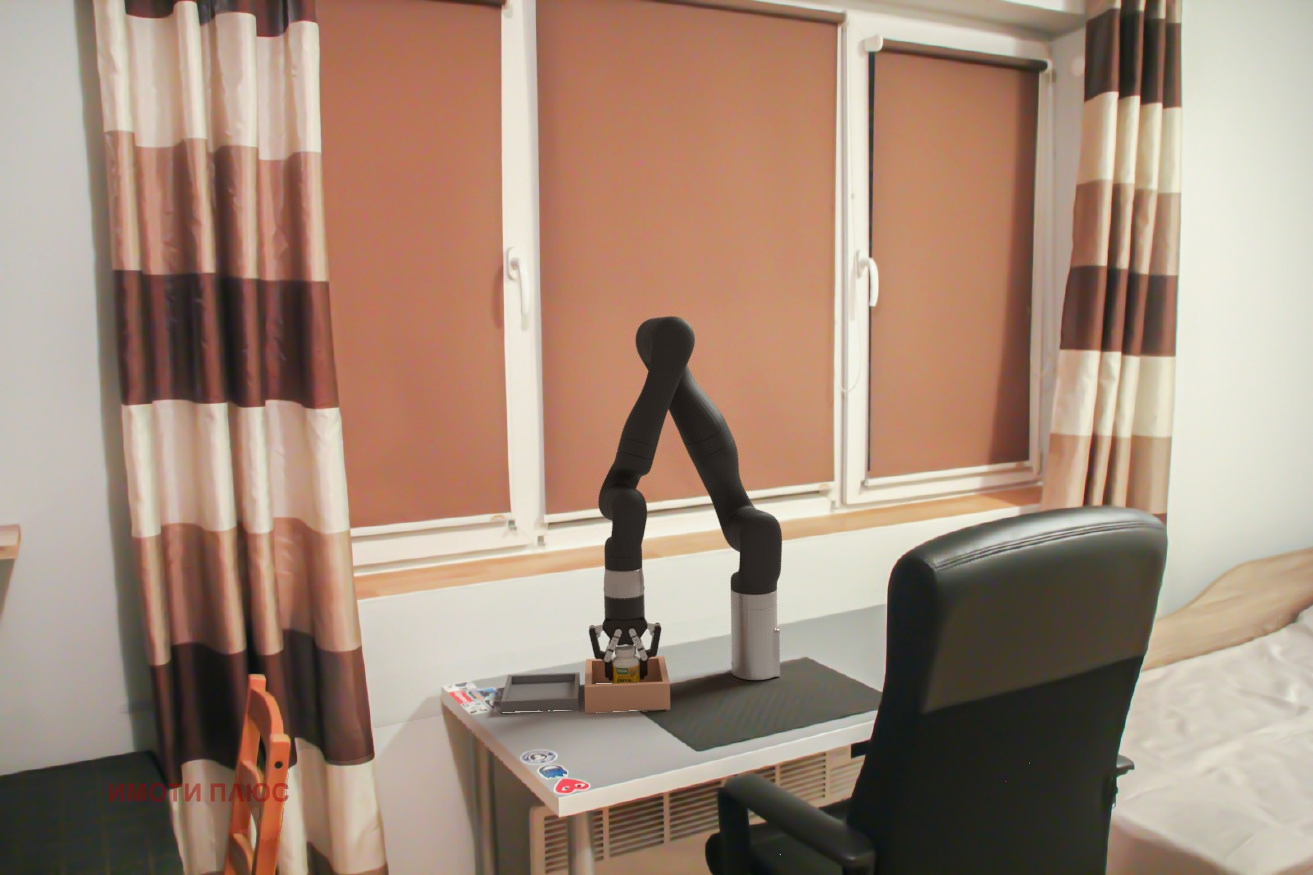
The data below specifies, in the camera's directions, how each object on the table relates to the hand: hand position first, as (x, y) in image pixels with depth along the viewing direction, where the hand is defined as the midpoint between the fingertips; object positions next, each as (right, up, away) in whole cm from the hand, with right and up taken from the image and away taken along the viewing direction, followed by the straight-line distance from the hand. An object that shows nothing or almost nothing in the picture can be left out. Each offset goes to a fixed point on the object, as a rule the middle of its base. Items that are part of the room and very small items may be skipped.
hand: (626, 678), depth 181 cm
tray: (-16, -4, 0) cm, 16 cm away
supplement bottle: (0, -4, 0) cm, 4 cm away
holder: (0, -3, 0) cm, 4 cm away
